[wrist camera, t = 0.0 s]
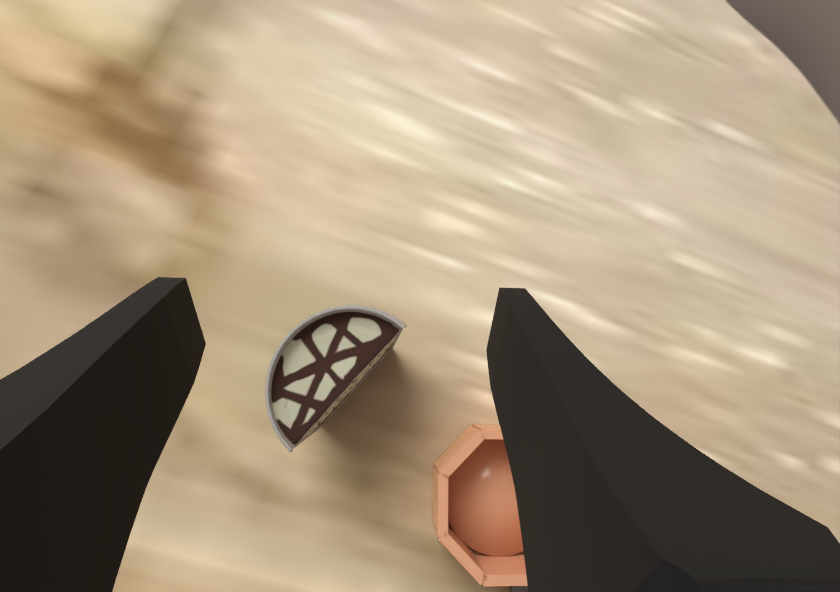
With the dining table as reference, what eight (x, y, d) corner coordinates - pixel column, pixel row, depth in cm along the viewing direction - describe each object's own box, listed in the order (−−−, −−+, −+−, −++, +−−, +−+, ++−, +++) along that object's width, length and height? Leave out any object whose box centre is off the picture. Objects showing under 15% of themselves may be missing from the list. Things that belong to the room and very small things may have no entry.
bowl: (565, 563, 41) (586, 585, 36) (431, 564, 40) (437, 586, 36) (559, 425, 43) (579, 430, 39) (433, 423, 42) (438, 428, 38)
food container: (355, 292, 44) (345, 265, 34) (403, 336, 44) (408, 321, 34) (259, 392, 42) (219, 394, 32) (309, 439, 41) (285, 456, 31)
